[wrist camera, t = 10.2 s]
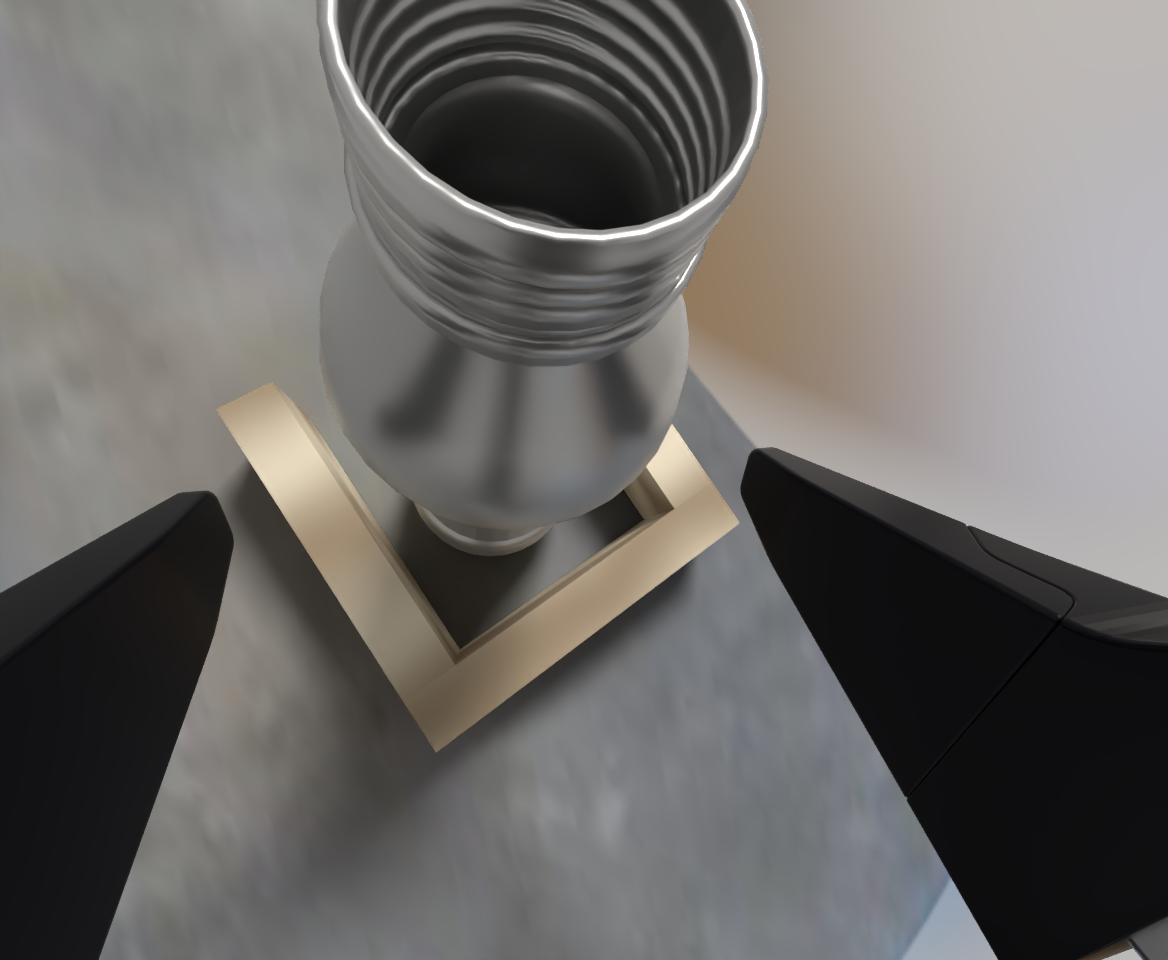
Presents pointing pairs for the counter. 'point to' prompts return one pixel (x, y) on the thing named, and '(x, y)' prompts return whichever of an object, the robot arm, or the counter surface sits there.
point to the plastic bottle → (525, 241)
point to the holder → (400, 609)
